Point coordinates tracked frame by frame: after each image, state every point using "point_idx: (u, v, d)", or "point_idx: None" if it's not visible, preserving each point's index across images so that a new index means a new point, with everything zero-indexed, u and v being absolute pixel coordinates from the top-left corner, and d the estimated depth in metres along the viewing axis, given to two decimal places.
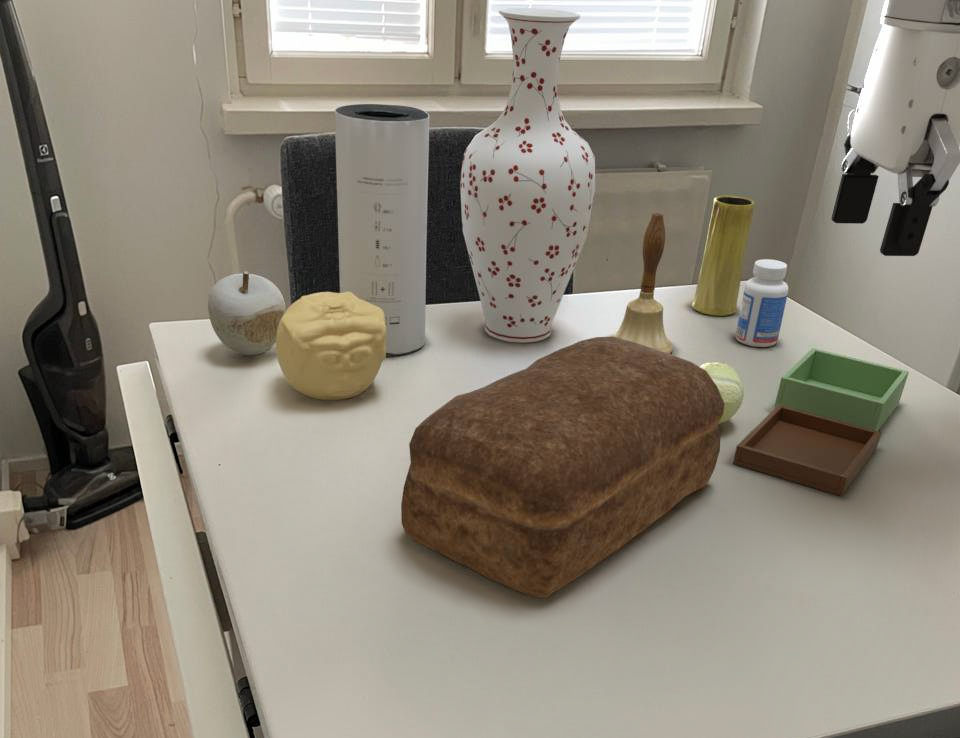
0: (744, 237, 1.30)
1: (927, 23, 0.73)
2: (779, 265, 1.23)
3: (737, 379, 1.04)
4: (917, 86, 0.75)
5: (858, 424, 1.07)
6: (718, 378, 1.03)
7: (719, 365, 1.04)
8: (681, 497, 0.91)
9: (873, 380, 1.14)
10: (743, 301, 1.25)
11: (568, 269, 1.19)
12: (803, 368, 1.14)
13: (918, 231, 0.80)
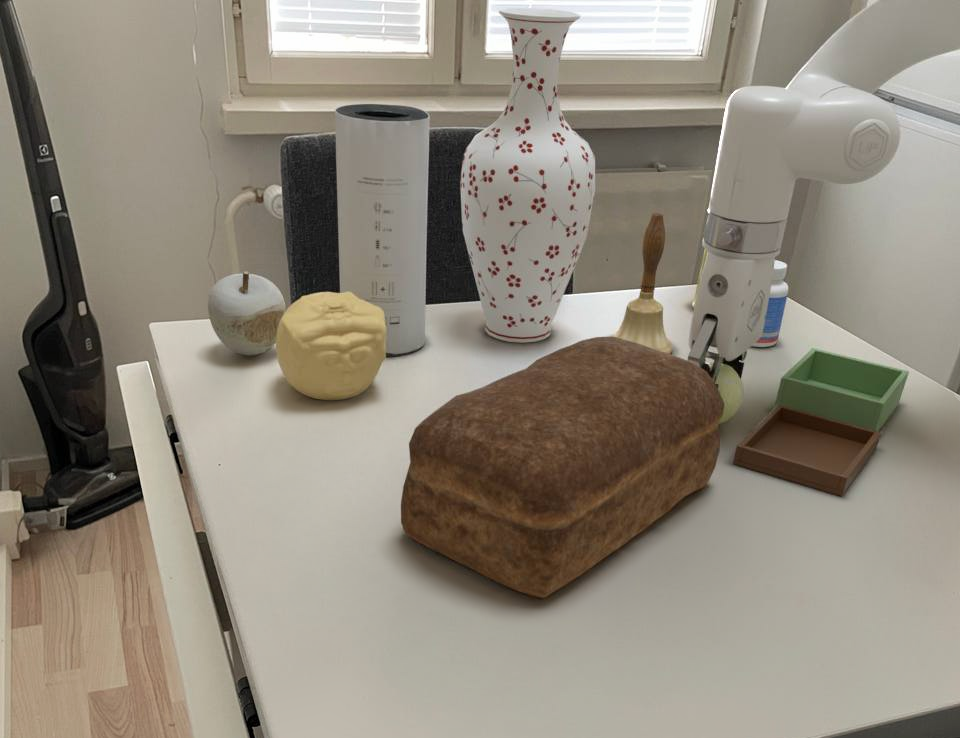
0: None
1: (710, 246, 0.95)
2: (779, 265, 1.23)
3: (737, 379, 1.04)
4: (698, 290, 0.97)
5: (858, 424, 1.07)
6: (718, 378, 1.03)
7: None
8: (681, 497, 0.91)
9: (873, 380, 1.14)
10: None
11: (568, 269, 1.19)
12: (803, 368, 1.14)
13: None
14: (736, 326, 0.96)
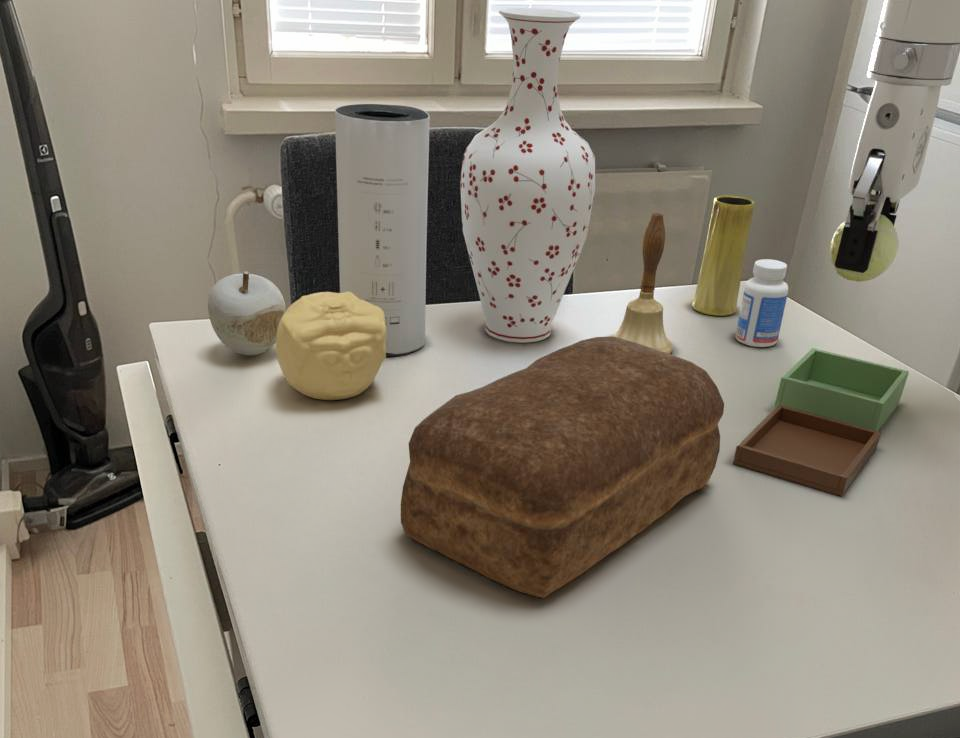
0: (744, 237, 1.30)
1: (879, 75, 0.90)
2: (779, 265, 1.23)
3: (893, 228, 0.99)
4: (863, 124, 0.92)
5: (858, 424, 1.07)
6: None
7: None
8: (681, 497, 0.91)
9: (873, 380, 1.14)
10: (743, 301, 1.25)
11: (568, 269, 1.19)
12: (803, 368, 1.14)
13: (859, 251, 0.97)
14: (905, 161, 0.92)
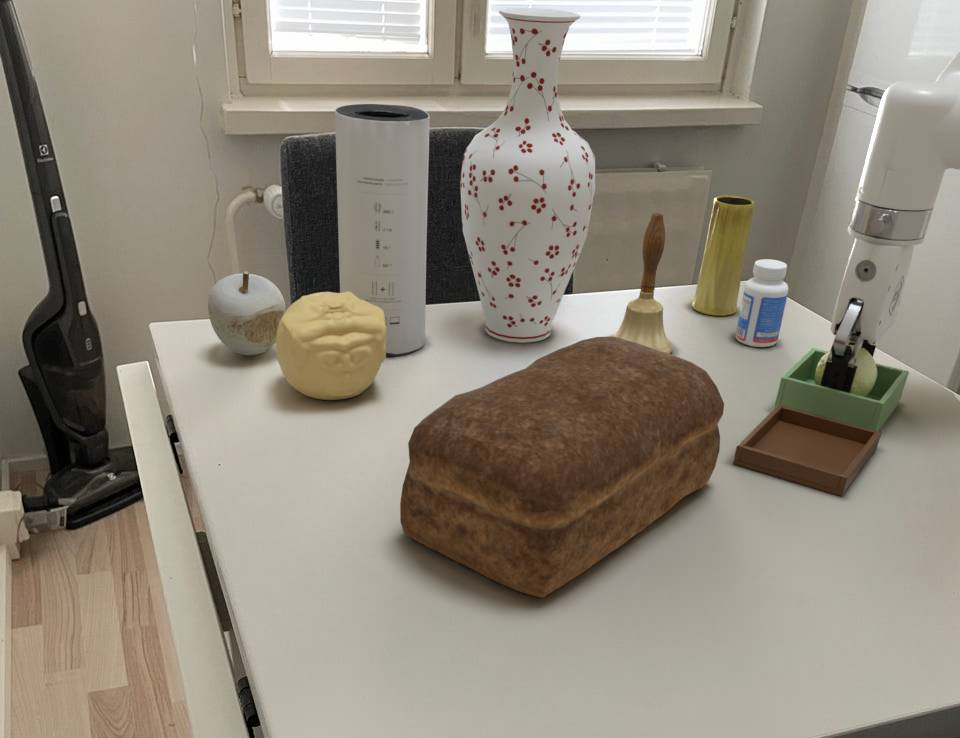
0: (744, 237, 1.30)
1: (858, 233, 1.00)
2: (779, 265, 1.23)
3: (872, 361, 1.08)
4: (844, 275, 1.01)
5: (858, 424, 1.07)
6: None
7: None
8: (680, 497, 0.91)
9: None
10: (743, 301, 1.25)
11: (568, 269, 1.19)
12: (803, 368, 1.14)
13: (840, 383, 1.06)
14: (881, 310, 1.01)
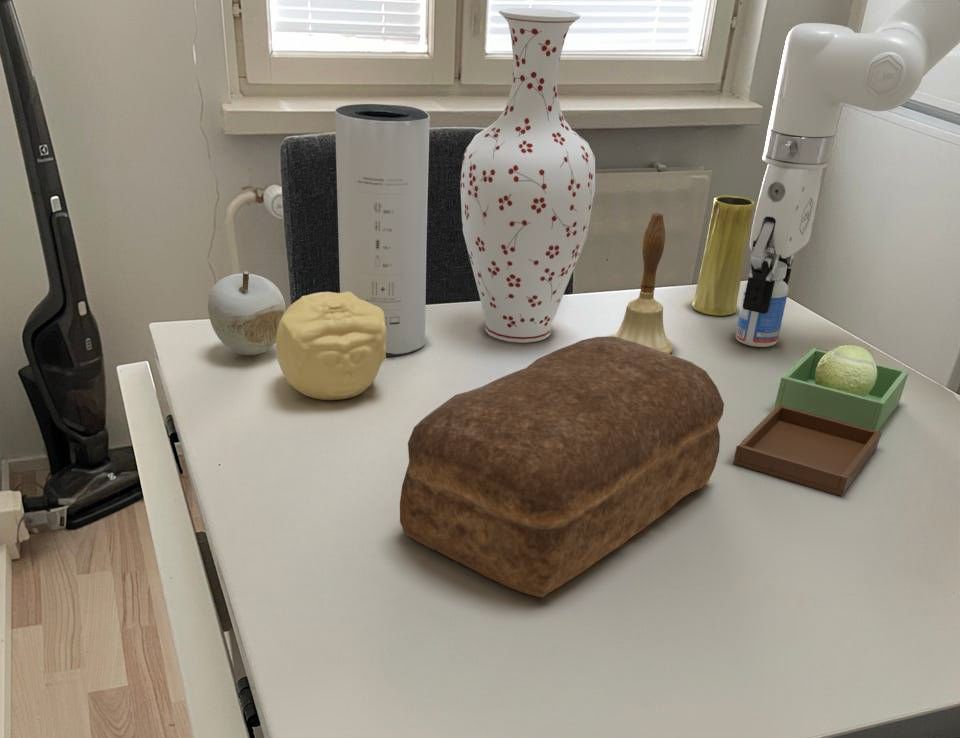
0: (744, 237, 1.30)
1: (770, 159, 1.14)
2: (779, 265, 1.23)
3: (872, 361, 1.08)
4: (759, 197, 1.16)
5: (858, 424, 1.07)
6: (855, 359, 1.07)
7: (855, 347, 1.08)
8: (680, 497, 0.91)
9: None
10: (743, 301, 1.25)
11: (568, 269, 1.19)
12: (803, 368, 1.14)
13: (760, 296, 1.22)
14: (791, 227, 1.15)
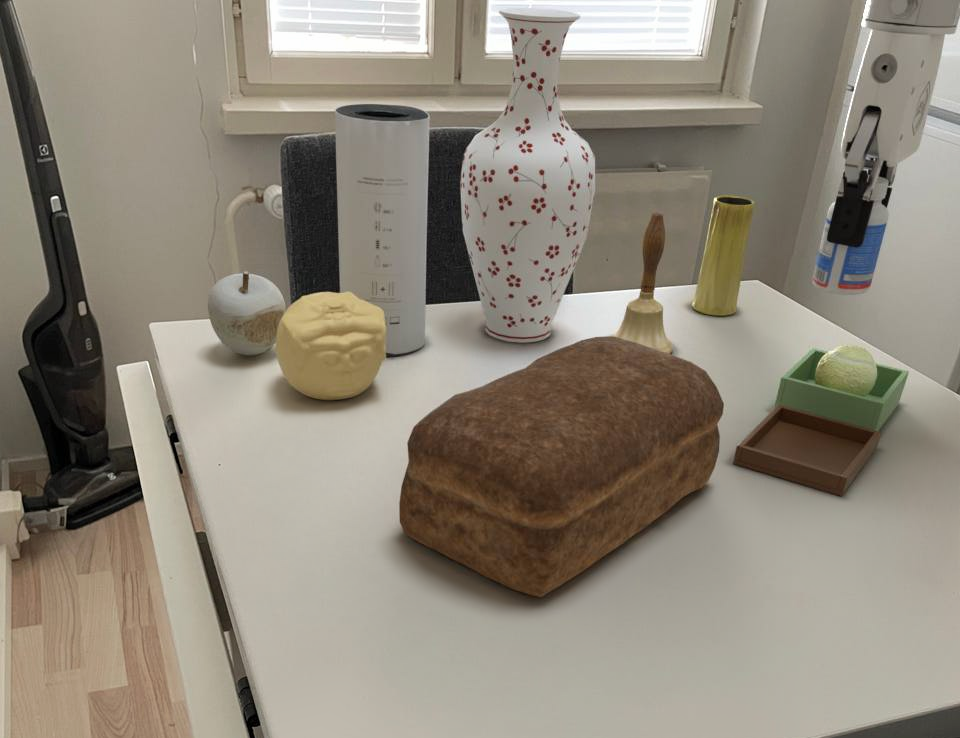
0: (744, 237, 1.30)
1: (875, 22, 0.81)
2: (878, 180, 0.89)
3: (872, 361, 1.08)
4: (857, 78, 0.83)
5: (858, 424, 1.07)
6: (855, 359, 1.07)
7: (855, 347, 1.08)
8: (680, 497, 0.91)
9: None
10: (825, 232, 0.92)
11: (568, 269, 1.19)
12: (803, 368, 1.14)
13: (853, 223, 0.88)
14: (903, 119, 0.82)
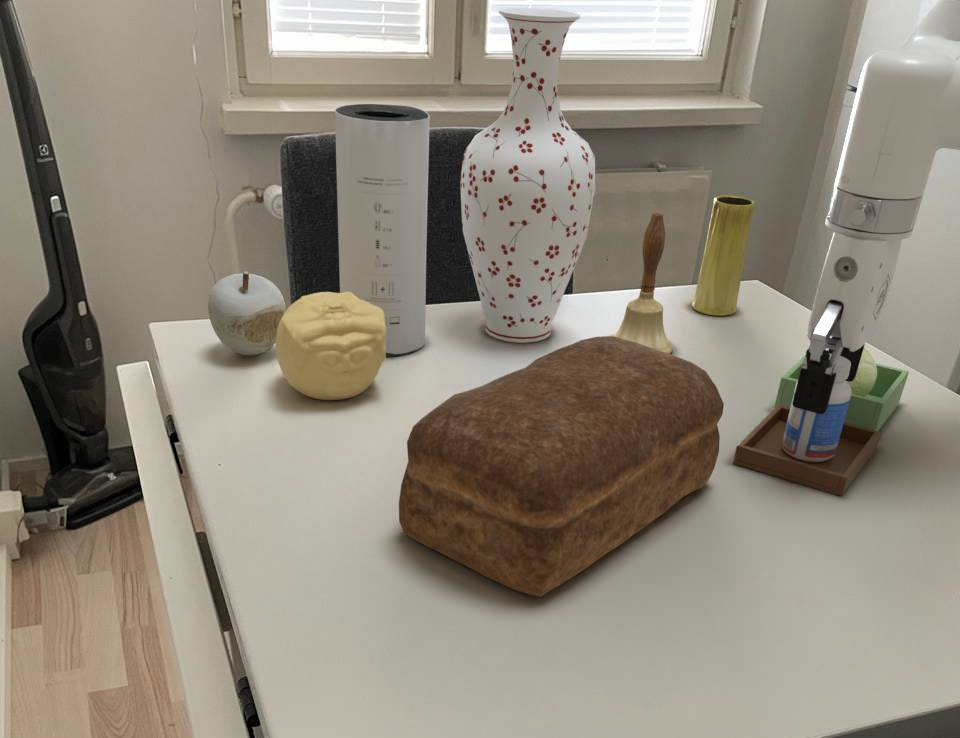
0: (744, 237, 1.30)
1: (837, 226, 0.87)
2: (841, 362, 0.96)
3: (872, 361, 1.08)
4: (821, 274, 0.89)
5: (858, 424, 1.07)
6: None
7: None
8: (679, 497, 0.91)
9: None
10: None
11: (568, 269, 1.19)
12: None
13: (817, 393, 0.93)
14: (864, 313, 0.88)
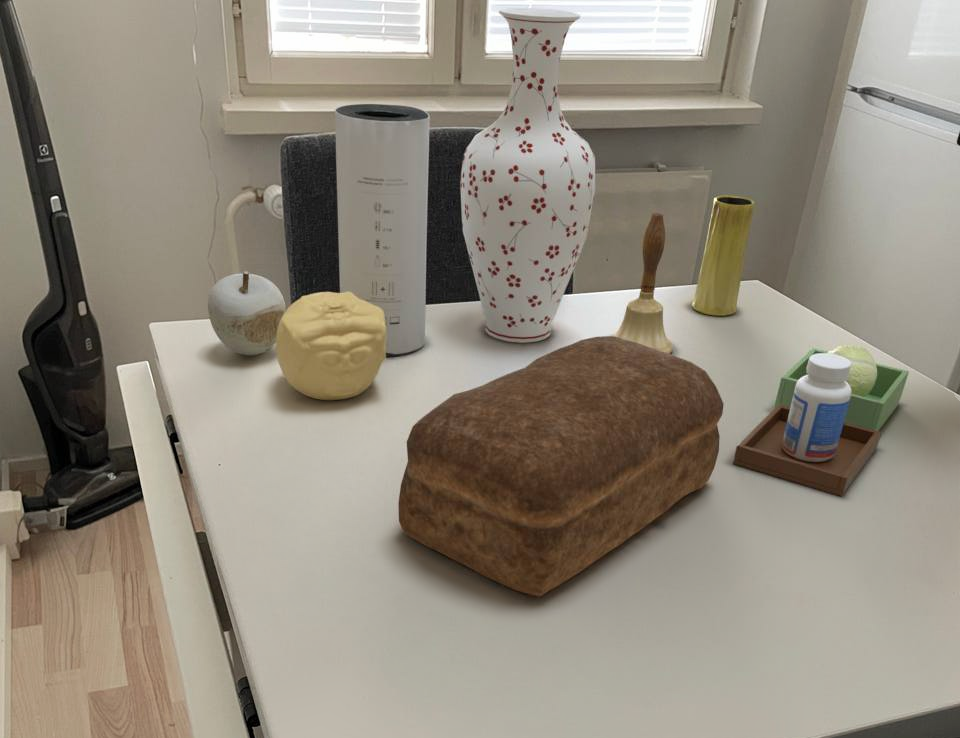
0: (744, 237, 1.30)
1: None
2: (841, 362, 0.96)
3: (872, 361, 1.08)
4: None
5: (858, 424, 1.07)
6: (855, 359, 1.07)
7: (855, 347, 1.08)
8: (679, 497, 0.91)
9: None
10: (793, 405, 0.99)
11: (568, 269, 1.19)
12: (803, 368, 1.14)
13: None
14: None
